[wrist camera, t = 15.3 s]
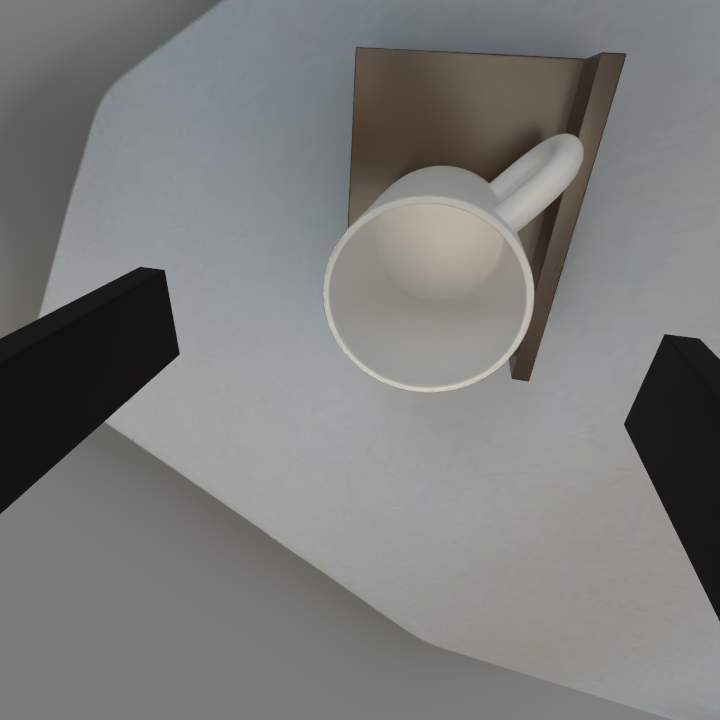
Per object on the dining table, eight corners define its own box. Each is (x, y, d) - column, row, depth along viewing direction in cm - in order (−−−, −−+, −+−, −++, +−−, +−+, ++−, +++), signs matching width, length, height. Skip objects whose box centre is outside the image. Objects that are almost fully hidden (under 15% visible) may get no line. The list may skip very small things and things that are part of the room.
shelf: (373, 56, 27) (341, 39, 20) (584, 67, 25) (626, 53, 18) (358, 302, 35) (331, 351, 28) (516, 325, 33) (528, 381, 26)
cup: (341, 237, 27) (283, 298, 19) (502, 65, 22) (525, 38, 13) (433, 329, 29) (418, 423, 21) (604, 192, 23) (684, 244, 15)
